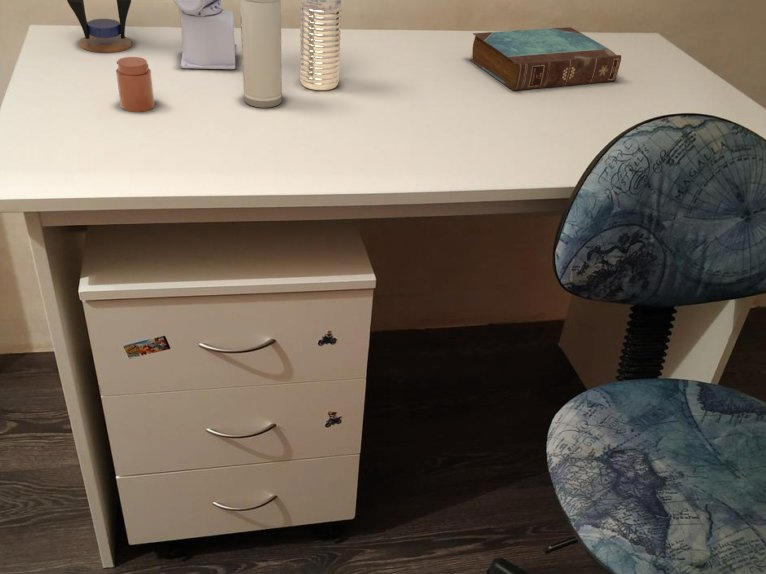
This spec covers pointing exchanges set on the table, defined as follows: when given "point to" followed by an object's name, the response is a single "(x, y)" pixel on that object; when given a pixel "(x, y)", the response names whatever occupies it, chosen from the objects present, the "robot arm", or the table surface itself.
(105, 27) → the lid
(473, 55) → the book
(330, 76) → the water bottle
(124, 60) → the jar
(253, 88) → the travel mug
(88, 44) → the coaster
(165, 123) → the table surface
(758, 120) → the table surface
